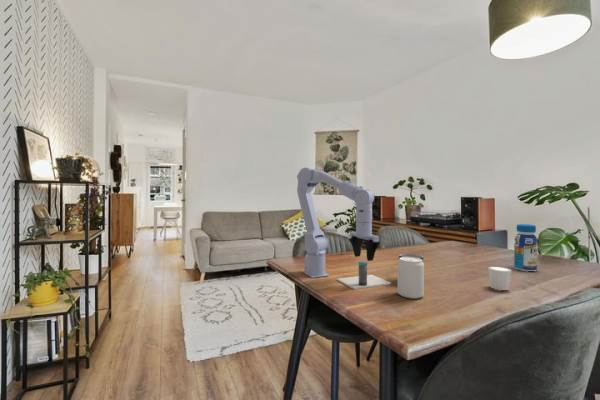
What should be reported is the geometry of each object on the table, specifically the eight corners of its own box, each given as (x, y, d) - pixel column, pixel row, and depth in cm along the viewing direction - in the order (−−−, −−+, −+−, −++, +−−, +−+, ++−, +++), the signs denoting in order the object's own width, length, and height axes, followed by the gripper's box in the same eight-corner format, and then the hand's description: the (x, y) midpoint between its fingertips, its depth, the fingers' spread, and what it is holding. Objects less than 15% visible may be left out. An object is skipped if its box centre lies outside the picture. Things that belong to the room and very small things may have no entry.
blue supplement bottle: (516, 266, 138) (516, 223, 138) (539, 269, 132) (540, 224, 131) (511, 269, 132) (512, 224, 132) (535, 273, 126) (536, 226, 126)
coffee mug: (425, 285, 108) (425, 258, 108) (400, 284, 110) (400, 257, 109) (419, 277, 119) (419, 252, 119) (396, 276, 121) (396, 251, 121)
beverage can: (421, 301, 92) (421, 263, 92) (394, 296, 97) (395, 259, 96) (425, 294, 99) (426, 258, 99) (400, 289, 103) (401, 255, 103)
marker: (356, 283, 108) (356, 262, 108) (363, 282, 109) (364, 261, 109) (361, 286, 105) (361, 263, 105) (368, 285, 106) (369, 263, 106)
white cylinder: (507, 286, 108) (507, 267, 108) (513, 292, 101) (514, 271, 101) (485, 284, 110) (486, 265, 110) (490, 290, 104) (490, 270, 104)
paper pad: (337, 280, 115) (337, 278, 115) (371, 276, 121) (371, 274, 121) (354, 289, 104) (354, 287, 104) (391, 284, 110) (391, 282, 110)
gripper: (343, 220, 115) (343, 255, 115) (367, 224, 102) (367, 263, 102) (358, 220, 118) (358, 254, 119) (383, 223, 105) (383, 261, 105)
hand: (363, 258), depth 111 cm, fingers open, 7 cm apart
